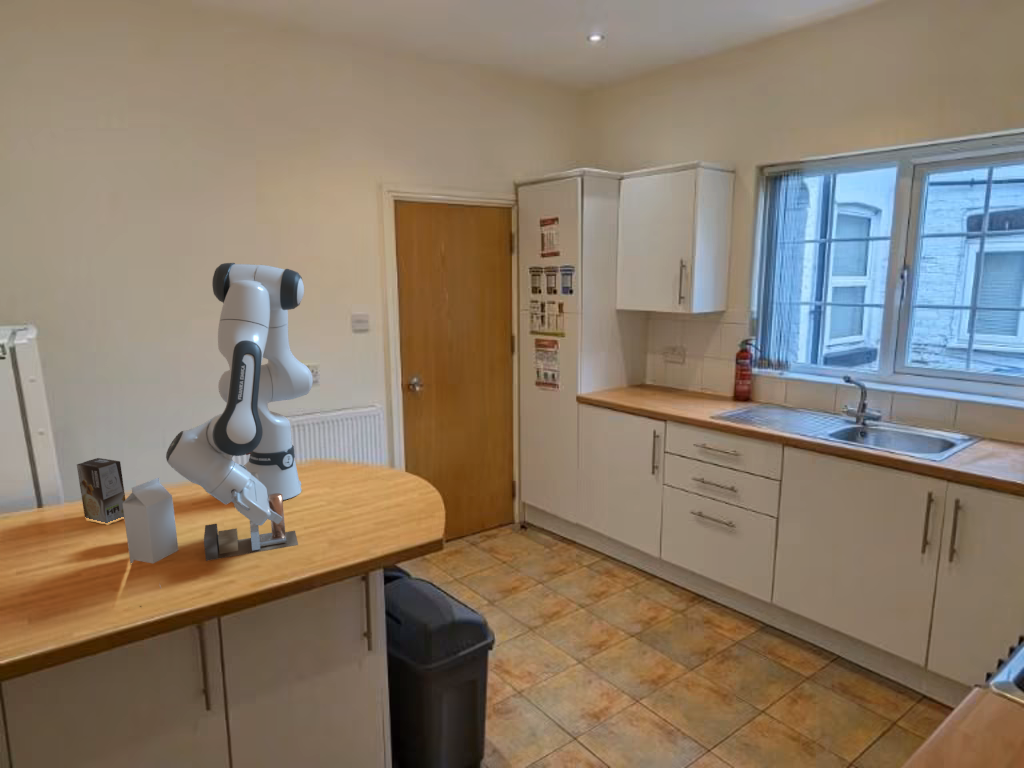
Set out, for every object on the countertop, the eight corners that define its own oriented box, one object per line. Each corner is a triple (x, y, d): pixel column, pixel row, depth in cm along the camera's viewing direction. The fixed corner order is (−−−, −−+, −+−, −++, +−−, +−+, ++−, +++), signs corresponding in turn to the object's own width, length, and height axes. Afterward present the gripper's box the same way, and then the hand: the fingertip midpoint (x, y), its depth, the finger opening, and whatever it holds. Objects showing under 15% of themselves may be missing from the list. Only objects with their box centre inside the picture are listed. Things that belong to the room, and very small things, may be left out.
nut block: (219, 553, 149) (218, 537, 148) (220, 546, 152) (218, 531, 152) (238, 550, 150) (236, 534, 149) (238, 543, 154) (236, 528, 153)
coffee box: (129, 517, 175) (122, 460, 171) (107, 526, 169) (99, 467, 166) (106, 512, 178) (98, 457, 175) (83, 521, 172) (75, 464, 169)
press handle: (252, 550, 149) (248, 505, 147) (251, 537, 157) (247, 493, 155) (287, 544, 152) (283, 500, 150) (284, 531, 160) (281, 489, 158)
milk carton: (179, 555, 151) (170, 479, 148) (153, 569, 145) (143, 489, 141) (156, 551, 153) (147, 476, 150) (130, 565, 147) (119, 486, 143)
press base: (206, 566, 146) (203, 540, 144) (208, 550, 154) (205, 525, 152) (298, 550, 153) (296, 525, 152) (295, 536, 161) (293, 511, 160)
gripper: (242, 488, 140) (292, 522, 146) (240, 461, 158) (285, 493, 164) (222, 510, 139) (273, 544, 145) (222, 481, 158) (268, 512, 163)
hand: (279, 517), depth 155 cm, fingers closed on press handle, 3 cm apart
